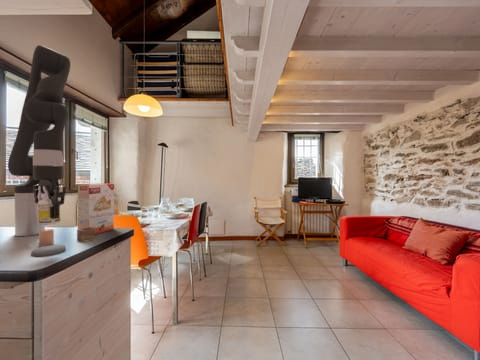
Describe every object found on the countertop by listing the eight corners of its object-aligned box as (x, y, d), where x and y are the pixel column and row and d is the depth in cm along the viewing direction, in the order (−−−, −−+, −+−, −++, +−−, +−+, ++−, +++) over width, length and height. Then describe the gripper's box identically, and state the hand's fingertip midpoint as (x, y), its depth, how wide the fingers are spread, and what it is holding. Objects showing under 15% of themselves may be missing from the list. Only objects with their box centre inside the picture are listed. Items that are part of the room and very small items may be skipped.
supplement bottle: (56, 221, 79) (56, 192, 79) (63, 223, 76) (62, 192, 76) (36, 223, 75) (35, 193, 74) (41, 226, 72) (41, 194, 71)
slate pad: (25, 253, 73) (25, 250, 73) (56, 246, 81) (56, 243, 81) (40, 258, 70) (40, 254, 70) (71, 250, 77) (71, 246, 77)
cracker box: (89, 237, 93) (89, 184, 93) (76, 236, 95) (76, 184, 94) (115, 229, 107) (114, 183, 107) (103, 228, 108) (103, 183, 108)
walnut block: (77, 240, 89) (77, 230, 89) (87, 237, 92) (87, 227, 92) (83, 241, 87) (83, 231, 87) (94, 239, 91) (94, 228, 91)
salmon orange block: (36, 245, 82) (36, 231, 82) (50, 242, 86) (49, 228, 86) (42, 246, 81) (42, 232, 80) (56, 243, 84) (56, 229, 84)
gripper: (22, 164, 75) (23, 217, 75) (47, 164, 68) (48, 221, 69) (49, 165, 81) (50, 214, 82) (74, 164, 75) (75, 217, 76)
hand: (49, 217), depth 75 cm, fingers closed on supplement bottle, 5 cm apart
